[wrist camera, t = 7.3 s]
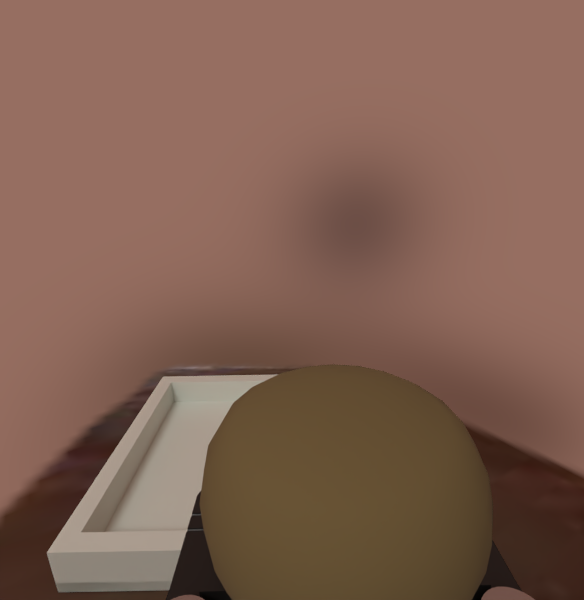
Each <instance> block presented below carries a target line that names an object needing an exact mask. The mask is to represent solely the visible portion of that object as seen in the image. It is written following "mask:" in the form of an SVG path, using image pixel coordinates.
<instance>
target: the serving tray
mask: <svg viewBox="0 0 584 600" xmlns="http://www.w3.org/2000/svg"><path fill="white" fill-rule="evenodd" d="M274 376H276V375H231V376H176V377H163V378H162V379H161V381H160V382H159V384H158V385H157V387H156V388H155V390H154V391H153V393H152V394H151V396H150V397H149V399H148V400H147V402H146V403H145V405H144V406H143V408H142V409H141V411H140V413H139V414H138V416H137V417H136V419H135V420H134V422H133V423H132V425H131V426H130V428H129V429H128V431H127V432H126V434H125V435H124V437H123V438H122V440H121V441H120V443H119V444H118V446H117V447H116V449H115V450H114V452H113V453H112V455H111V456H110V458H109V459H108V461H107V462H106V464H105V465H104V467H103V468H102V470H101V471H100V473H99V475H98V476H97V478H96V479H95V481H94V482H93V484H92V485H91V487H90V488H89V490H88V491H87V493H86V494H85V496H84V497H83V499H82V500H81V502H80V503H79V505H78V506H77V508H76V509H75V511H74V512H73V514H72V515H71V517H70V518H69V520H68V521H67V523H66V524H65V526H64V527H63V529H62V530H61V532H60V533H59V535H58V537H57V538H56V540H55V541H54V543H53V544H52V546H51V547H50V549H49V550H48V552H47V555H48V559H49V562H50V566H51V569H52V573H53V576H54V579H55V583H56V586H57V590H58V592H96V591H151V590H169V589H170V585H171V582H172V579H173V575H174V572H175V569H176V565H177V562H178V558H179V555H180V552H181V548H182V545H183V542H184V538H185V535H186V532H187V530H188V525H189V521H190V518H191V517H192V511H193V508H194V505H195V501H196V498H197V495H198V494H199V492H200V491H201V489H202V481H203V474H204V467H205V461H206V455H207V449H208V445H209V443H210V441H211V440H212V438H213V436H214V435H215V433H216V431H217V429H218V428H219V426H220V424H221V423H222V421H223V419H224V418H225V416H226V414H227V413H228V411H229V409H230V407H231V406H232V404H233V403H234V402H235V401H236V400H237V399H239V398H240V397H241V396H242V395H243V394H245V393H246V392H247V391H248V390H249V389H251V388H252V387H253V386H255V385H257V384H260V383H262V382H264V381H266V380H268V379H270V378H272V377H274Z"/></svg>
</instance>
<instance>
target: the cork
mask: <svg viewBox="0 0 584 600" xmlns="http://www.w3.org/2000/svg"><path fill="white" fill-rule="evenodd" d="M200 511H201V517H202V524H203V530H204V534H205V537H206V541H207V545H208V548H209V552H210V555H211V559H212V563H213V566H214V570H215V573H216V574H217V576H218V578H219V580H220V581H221V583H222V585H223V587H224V589H225V590H226V592H227V594H228V595H229V596H230V598H231V599H232V600H472V599H473V597H474V595H475V593H476V591H477V589H478V587H479V585H480V584H481V582H482V580H483V578H484V576H485V574H486V571H487V566H488V561H489V557H490V552H491V547H492V525H493V500H492V494H491V488H490V481H489V475H488V473H487V471H486V468H485V466H484V464H483V461H482V459H481V457H480V454H479V452H478V450H477V447H476V445H475V443H474V441H473V440H472V438H471V436H470V434H469V433H468V431H467V429H466V427H465V426H464V424H463V422H462V421H461V420H460V419H459V418H458V417H457V416H456V415H455V414H454V413H453V412H452V410H451V409H449V407H448V406H447V405H446V404H445V403H444V402H443V401H442V400H440V399H438V398H437V397H435V396H434V395H432V394H431V393H429V392H428V391H426V390H424V389H422V388H421V387H420V386H418V385H416V384H414V383H412V382H409V381H407V380H405V379H402V378H399V377H397V376H394V375H392V374H389V373H387V372H384V371H379V370H374V369H369V368H365V367H360V366H349V365H348V366H347V365H321V366H309V367H304V368H300V369H296V370H292V371H288V372H284V373H282V374H279V375H276V376H274V377H272V378H270V379H268V380H266V381H264V382H262V383H260V384H257V385H255V386H253V387H252V388H251V389H249V390H248V391H247V392H246V393H245V394H243V395H242V396H241V397H240V398H239V399H237V400H236V401H235V402H234V403H233V404H232V406H231V407H230V409H229V411H228V413H227V414H226V416H225V418H224V419H223V421H222V423H221V424H220V426H219V428H218V429H217V431H216V433H215V435H214V436H213V438H212V440H211V441H210V443H209V445H208V449H207V455H206V461H205V467H204V474H203V481H202V489H201V496H200Z"/></svg>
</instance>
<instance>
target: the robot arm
mask: <svg viewBox="0 0 584 600" xmlns="http://www.w3.org/2000/svg"><path fill="white" fill-rule="evenodd" d="M200 496H201V491H200V492H199V494H198V495H197V498H196V501H195V505H194V508H193V511H192V517H191V518H190V521H189V525H188V530H187V532H186V535H185V538H184V542H183V545H182V548H181V552H180V555H179V558H178V562H177V565H176V569H175V572H174V575H173V579H172V582H171V585H170V589H169V592H168V595H167V598H166V600H232V599H231V598H230V596H229V595H228V594H227V592H226V590H225V589H224V587H223V585H222V583H221V581H220V580H219V578H218V576H217V574H216V573H215V570H214V566H213V563H212V559H211V555H210V552H209V548H208V545H207V541H206V537H205V534H204V530H203V524H202V517H201V511H200ZM472 600H535V599H533V598H532V597H531V596H529V595H527V594H526V593H524V592H523V591H522V590H521V589H520V587H519V586H518V584H517V582H516V581H515V579H514V577H513V575H512V574H511V572H510V570H509V568H508V566H507V565H506V563H505V561H504V559H503V558H502V556H501V554H500V552H499V551H498V549H497V547H496V545H495V544H494V542H493V540H492V547H491V552H490V557H489V561H488V566H487V571H486V574H485V576H484V578H483V580H482V582H481V584H480V585H479V587H478V589H477V591H476V593H475V595H474V597H473V599H472Z"/></svg>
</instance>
